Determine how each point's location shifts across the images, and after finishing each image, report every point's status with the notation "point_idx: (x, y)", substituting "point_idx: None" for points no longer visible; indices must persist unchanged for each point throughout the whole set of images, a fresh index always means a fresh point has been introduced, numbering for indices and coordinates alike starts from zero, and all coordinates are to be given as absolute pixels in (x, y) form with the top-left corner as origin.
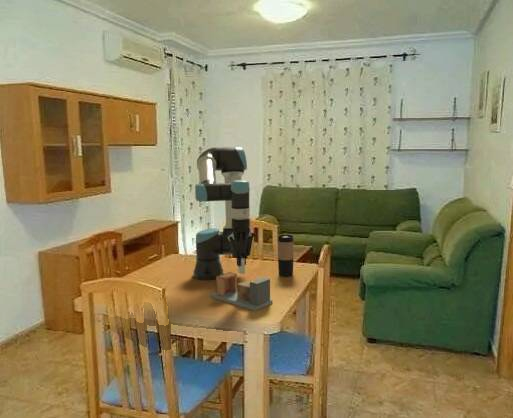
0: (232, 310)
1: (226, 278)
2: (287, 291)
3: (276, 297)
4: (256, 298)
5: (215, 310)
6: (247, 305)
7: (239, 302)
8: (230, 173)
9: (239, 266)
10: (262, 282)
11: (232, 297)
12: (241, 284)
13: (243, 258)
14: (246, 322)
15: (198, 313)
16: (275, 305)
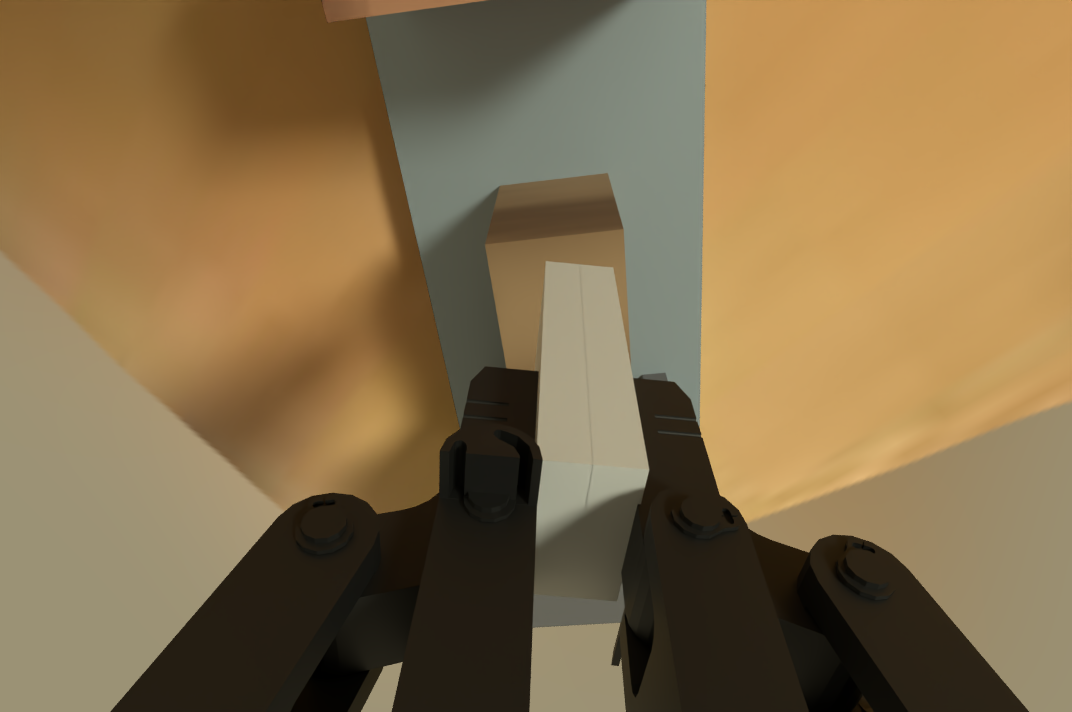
0: (327, 320)
1: (428, 7)
2: (1066, 313)
3: (842, 354)
4: None
5: (189, 217)
6: (451, 389)
7: (431, 302)
8: None
9: (537, 371)
10: (569, 618)
11: (465, 133)
12: (519, 295)
13: (592, 588)
14: None
15: (5, 164)
16: None
